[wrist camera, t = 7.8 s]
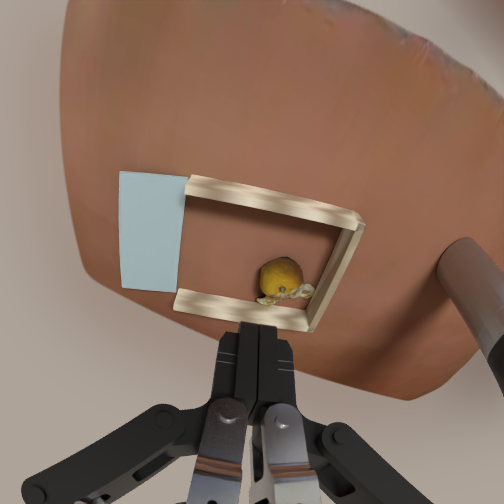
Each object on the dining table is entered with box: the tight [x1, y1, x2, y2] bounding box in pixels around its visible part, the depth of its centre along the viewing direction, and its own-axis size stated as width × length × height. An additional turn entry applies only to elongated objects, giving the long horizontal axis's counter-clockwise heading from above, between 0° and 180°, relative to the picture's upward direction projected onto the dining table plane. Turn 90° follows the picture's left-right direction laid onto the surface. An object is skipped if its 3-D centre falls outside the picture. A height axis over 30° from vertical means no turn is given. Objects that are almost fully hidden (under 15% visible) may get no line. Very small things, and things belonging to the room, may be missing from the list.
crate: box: [173, 175, 366, 333], centre depth 36 cm, size 20×18×4 cm
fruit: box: [257, 257, 315, 306], centre depth 38 cm, size 8×8×4 cm
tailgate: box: [119, 171, 188, 293], centre depth 35 cm, size 1×17×8 cm
